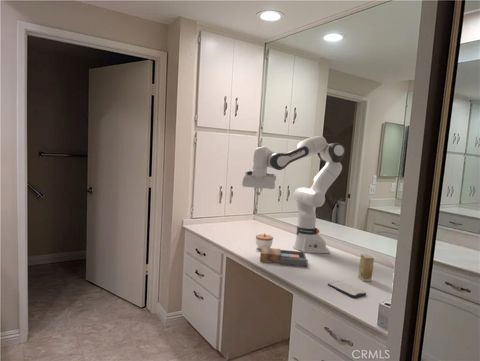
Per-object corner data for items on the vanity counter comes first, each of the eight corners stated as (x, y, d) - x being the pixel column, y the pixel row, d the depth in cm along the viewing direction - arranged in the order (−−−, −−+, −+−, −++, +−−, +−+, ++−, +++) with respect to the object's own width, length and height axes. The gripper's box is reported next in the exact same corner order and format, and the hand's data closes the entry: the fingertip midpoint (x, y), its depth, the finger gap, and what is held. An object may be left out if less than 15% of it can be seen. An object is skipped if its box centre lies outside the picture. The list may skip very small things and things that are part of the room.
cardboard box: (279, 256, 199) (280, 249, 199) (280, 263, 187) (280, 255, 187) (261, 254, 200) (261, 247, 200) (260, 261, 189) (260, 253, 188)
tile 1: (289, 254, 195) (289, 258, 195) (290, 256, 190) (289, 261, 190) (298, 254, 194) (298, 259, 195) (299, 257, 190) (298, 262, 190)
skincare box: (357, 277, 174) (360, 253, 173) (366, 277, 174) (368, 253, 173) (363, 281, 168) (365, 257, 166) (371, 282, 168) (374, 257, 167)
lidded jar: (258, 251, 207) (259, 236, 206) (252, 246, 217) (253, 231, 217) (274, 251, 210) (275, 236, 209) (268, 246, 220) (269, 231, 220)
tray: (303, 257, 200) (304, 252, 200) (306, 266, 184) (306, 260, 184) (279, 255, 201) (280, 249, 201) (280, 264, 186) (280, 258, 185)
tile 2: (289, 258, 195) (289, 254, 195) (289, 261, 190) (290, 256, 190) (280, 257, 196) (280, 253, 196) (280, 260, 191) (281, 255, 191)
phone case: (326, 286, 160) (353, 299, 147) (326, 283, 160) (353, 296, 146) (339, 283, 165) (367, 296, 151) (339, 280, 165) (367, 292, 151)
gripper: (276, 173, 213) (274, 195, 215) (243, 171, 215) (242, 193, 217) (276, 174, 207) (274, 197, 208) (242, 171, 209) (241, 194, 210)
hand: (257, 195), depth 212 cm, fingers closed
